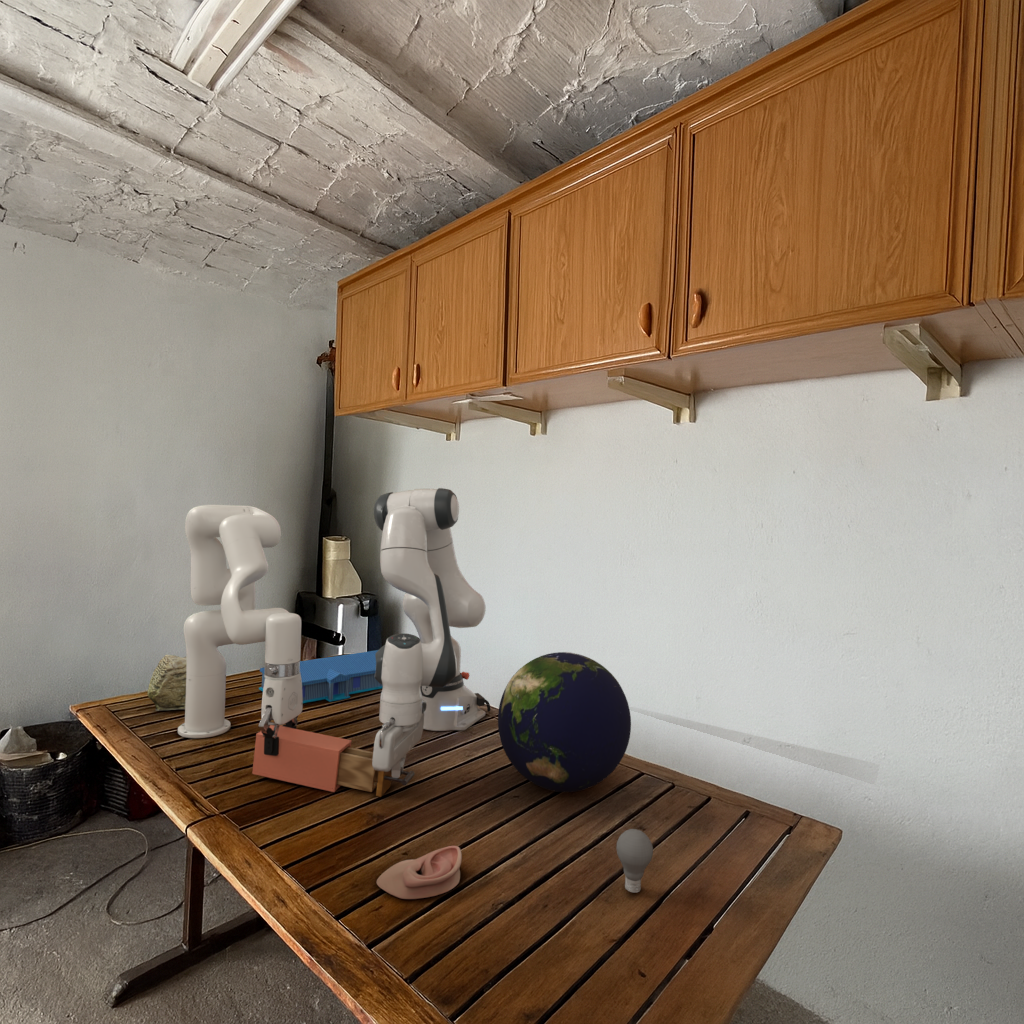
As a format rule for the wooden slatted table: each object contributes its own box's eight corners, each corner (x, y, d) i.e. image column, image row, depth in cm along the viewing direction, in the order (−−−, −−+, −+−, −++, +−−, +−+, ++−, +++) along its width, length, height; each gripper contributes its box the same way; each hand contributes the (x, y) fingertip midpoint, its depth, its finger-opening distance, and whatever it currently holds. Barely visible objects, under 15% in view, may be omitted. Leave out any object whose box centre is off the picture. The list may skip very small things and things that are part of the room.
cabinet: (347, 779, 142) (351, 740, 142) (334, 792, 136) (338, 751, 136) (268, 762, 146) (272, 724, 146) (252, 773, 140) (256, 733, 140)
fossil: (144, 707, 182) (145, 655, 182) (212, 696, 194) (213, 647, 194) (151, 716, 175) (153, 662, 175) (221, 703, 188) (223, 653, 188)
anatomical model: (369, 868, 102) (396, 832, 113) (368, 893, 102) (395, 854, 113) (448, 882, 99) (468, 844, 110) (447, 907, 99) (467, 866, 110)
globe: (472, 799, 135) (478, 659, 135) (523, 750, 163) (528, 634, 162) (610, 832, 124) (617, 680, 124) (639, 773, 152) (645, 649, 151)
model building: (289, 709, 186) (291, 675, 185) (258, 688, 204) (259, 657, 204) (403, 687, 212) (405, 657, 212) (366, 670, 230) (368, 643, 230)
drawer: (413, 791, 139) (416, 758, 139) (404, 802, 134) (408, 768, 133) (312, 769, 143) (316, 738, 143) (300, 779, 138) (304, 746, 138)
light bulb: (610, 879, 108) (613, 822, 108) (644, 879, 109) (647, 822, 109) (619, 902, 102) (622, 840, 102) (655, 901, 103) (658, 840, 103)
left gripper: (276, 680, 133) (273, 765, 133) (316, 661, 150) (314, 736, 150) (244, 677, 134) (241, 762, 134) (287, 658, 151) (285, 733, 151)
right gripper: (395, 728, 125) (392, 798, 125) (429, 700, 145) (426, 760, 145) (366, 725, 126) (362, 794, 126) (403, 697, 147) (400, 757, 146)
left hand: (280, 748), depth 142 cm, fingers closed on cabinet, 6 cm apart
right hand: (397, 776), depth 136 cm, fingers closed
